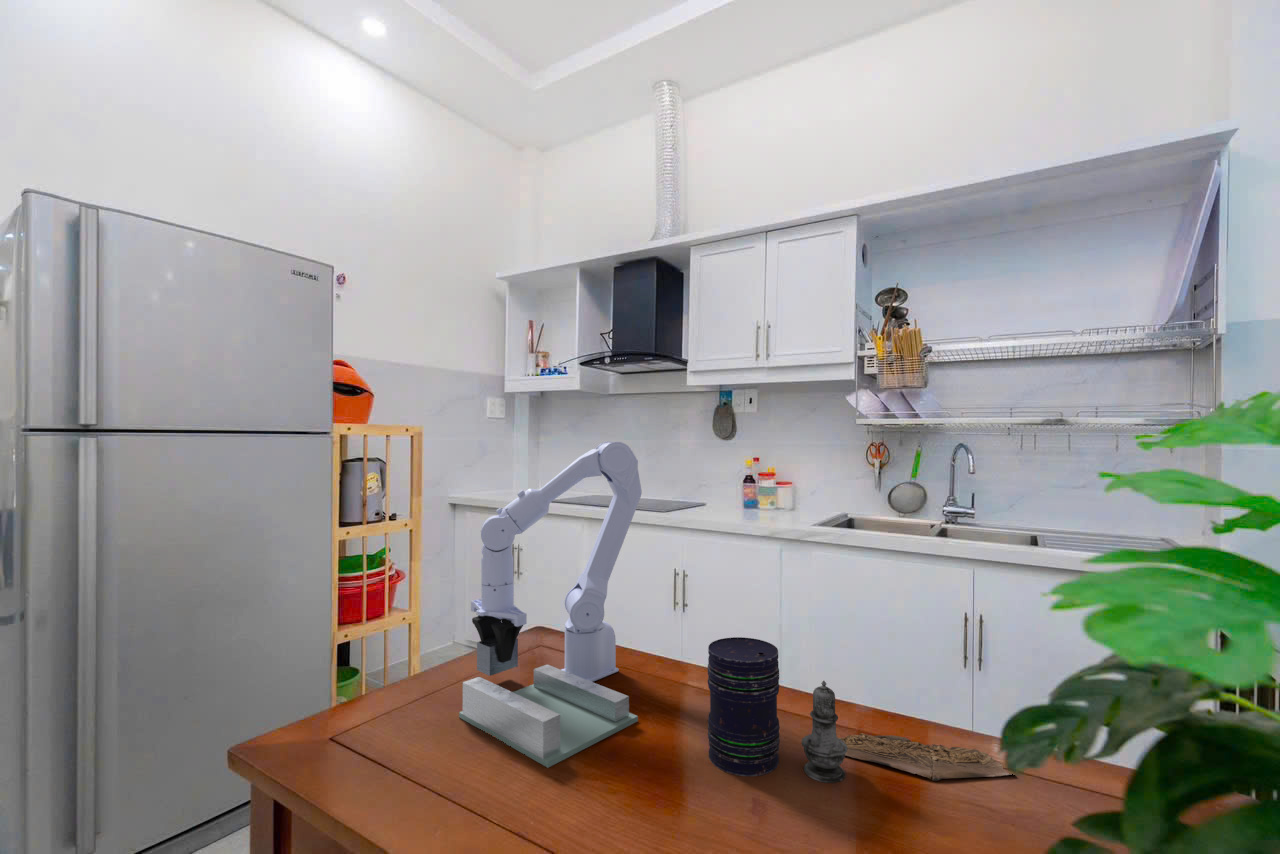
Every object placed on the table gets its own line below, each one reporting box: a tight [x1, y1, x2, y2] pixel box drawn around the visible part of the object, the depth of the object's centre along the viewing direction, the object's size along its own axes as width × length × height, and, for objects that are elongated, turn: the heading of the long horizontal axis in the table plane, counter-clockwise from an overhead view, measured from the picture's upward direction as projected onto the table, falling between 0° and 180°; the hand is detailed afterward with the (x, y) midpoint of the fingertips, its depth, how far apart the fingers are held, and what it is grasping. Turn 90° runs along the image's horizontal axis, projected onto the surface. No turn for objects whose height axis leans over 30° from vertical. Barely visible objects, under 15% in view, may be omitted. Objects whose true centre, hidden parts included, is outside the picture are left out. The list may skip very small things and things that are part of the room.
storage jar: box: [707, 636, 781, 777], centre depth 84 cm, size 10×10×15 cm
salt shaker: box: [800, 680, 848, 784], centre depth 80 cm, size 6×6×12 cm
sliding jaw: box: [533, 664, 630, 722], centre depth 100 cm, size 3×20×3 cm, turn 48°
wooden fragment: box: [838, 732, 1017, 782], centre depth 84 cm, size 26×11×1 cm, turn 70°
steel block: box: [476, 637, 519, 677], centre depth 110 cm, size 6×4×5 cm, turn 138°
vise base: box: [458, 676, 639, 769], centre depth 95 cm, size 18×22×6 cm
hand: (497, 657), depth 110 cm, fingers closed on steel block, 4 cm apart
